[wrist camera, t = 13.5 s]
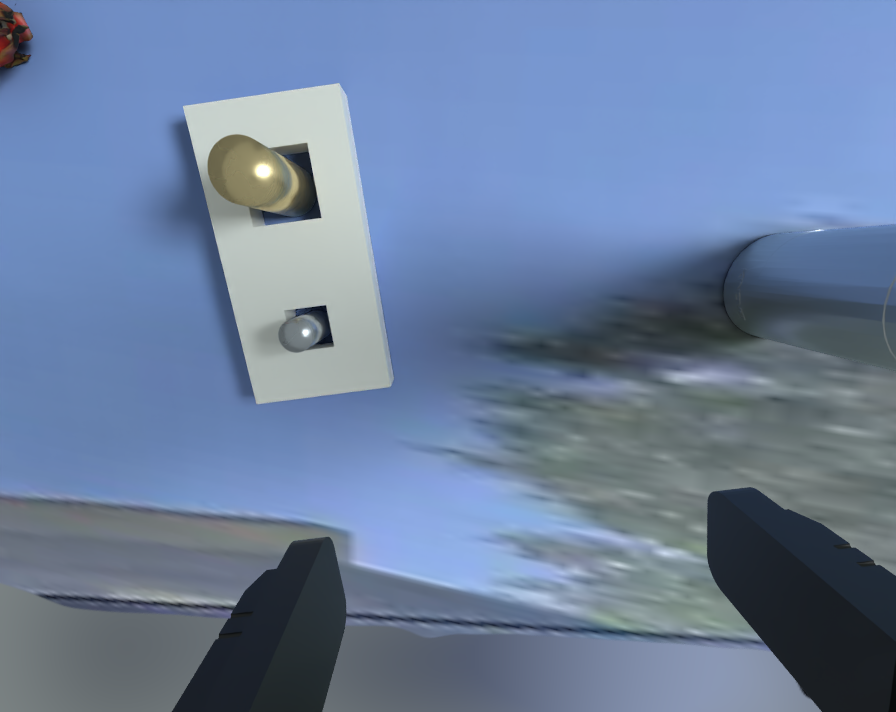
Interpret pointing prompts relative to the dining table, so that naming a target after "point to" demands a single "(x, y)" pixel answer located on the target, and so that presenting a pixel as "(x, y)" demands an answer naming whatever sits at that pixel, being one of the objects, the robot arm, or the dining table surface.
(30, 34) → the dragon fruit
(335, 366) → the plate
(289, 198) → the cylinder
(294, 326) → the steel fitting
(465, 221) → the dining table surface
